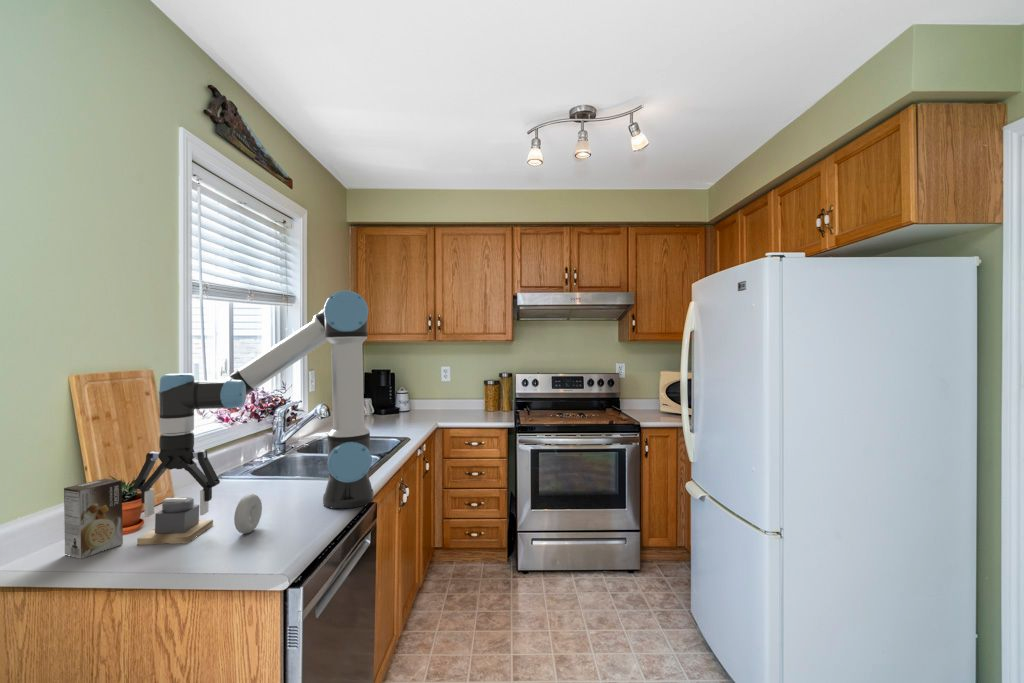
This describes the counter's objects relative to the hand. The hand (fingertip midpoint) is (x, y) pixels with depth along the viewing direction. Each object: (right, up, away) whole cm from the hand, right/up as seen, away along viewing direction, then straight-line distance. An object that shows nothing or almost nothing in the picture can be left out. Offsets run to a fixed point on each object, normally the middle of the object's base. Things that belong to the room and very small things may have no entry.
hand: (177, 514), depth 129 cm
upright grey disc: (+18, -5, +1) cm, 19 cm away
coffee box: (-14, -5, -10) cm, 17 cm away
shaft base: (0, -5, 0) cm, 5 cm away
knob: (0, -4, 0) cm, 4 cm away
